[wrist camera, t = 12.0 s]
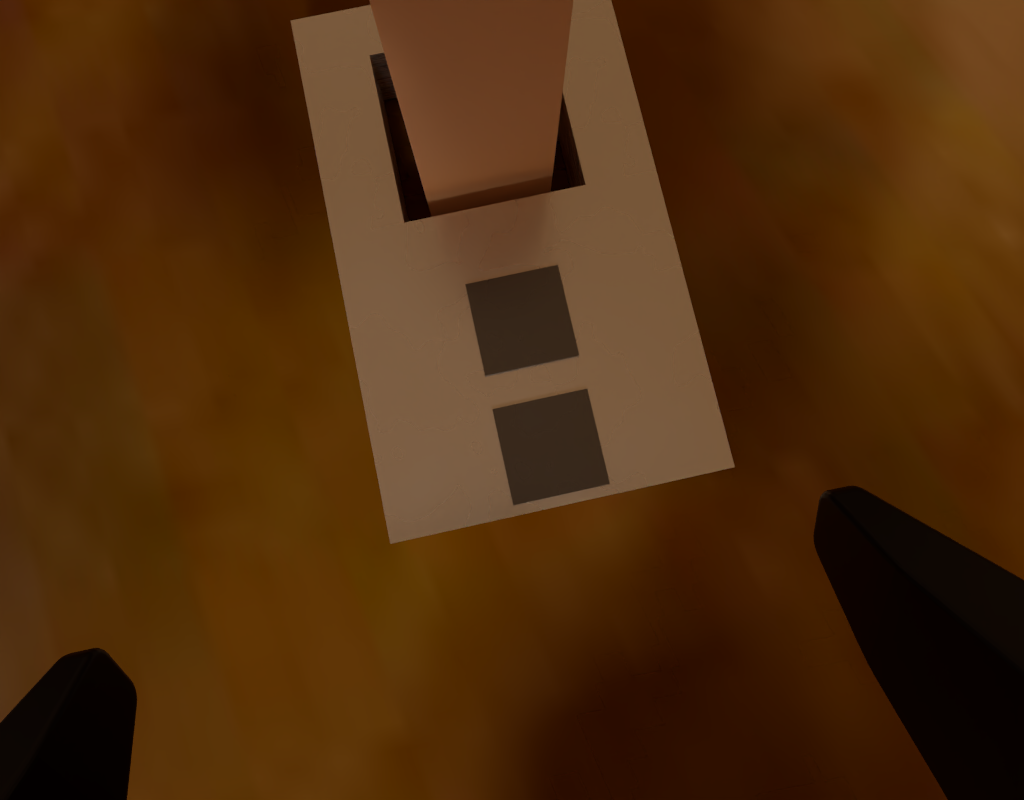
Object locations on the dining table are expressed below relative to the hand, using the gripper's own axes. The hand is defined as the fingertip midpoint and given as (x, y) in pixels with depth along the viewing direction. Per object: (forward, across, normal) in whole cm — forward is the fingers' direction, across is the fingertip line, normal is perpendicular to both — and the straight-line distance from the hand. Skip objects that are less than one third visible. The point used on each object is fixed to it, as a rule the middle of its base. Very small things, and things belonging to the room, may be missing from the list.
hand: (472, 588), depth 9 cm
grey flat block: (+16, -2, +3) cm, 16 cm away
